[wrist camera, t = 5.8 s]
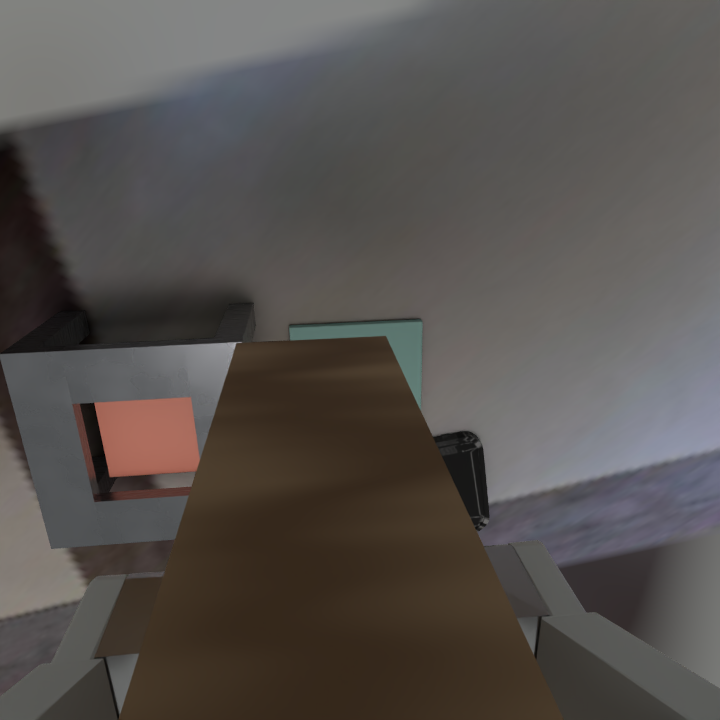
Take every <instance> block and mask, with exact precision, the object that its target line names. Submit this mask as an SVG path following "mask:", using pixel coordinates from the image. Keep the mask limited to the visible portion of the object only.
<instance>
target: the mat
mask: <svg viewBox="0 0 720 720" xmlns="http://www.w3.org/2000/svg"><path fill="white" fill-rule="evenodd" d="M289 332H290V340H310V339H331V338H352V337H373V336H386V337H387V339H388V341H389V344H390V346H391V348H392V350H393V352H394V354H395V356H396V359H397V361H398V363H399V365H400V367H401V369H402V372H403V374H404V376H405V378H406V380H407V382H408V385H409V387H410V389H411V391H412V393H413V395H414V397H415V400H416V402H417V404H418V406H419V408H420V410H421V373H422V320H421V319H413V320H393V321H372V322H351V323H331V324H310V325H290V326H289Z"/></svg>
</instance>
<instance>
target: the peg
mask: <svg viewBox="0 0 720 720" xmlns="http://www.w3.org/2000/svg"><path fill="white" fill-rule="evenodd" d="M119 720H564V719H563V717H562V715H561V712H560V710H559V708H558V706H557V704H556V702H555V700H554V697H553V695H552V693H551V691H550V689H549V687H548V684H547V682H546V680H545V678H544V676H543V674H542V672H541V669H540V667H539V665H538V663H537V661H536V659H535V656H534V654H533V652H532V650H531V648H530V646H529V643H528V641H527V639H526V637H525V635H524V633H523V631H522V628H521V626H520V624H519V622H518V620H517V618H516V615H515V613H514V611H513V609H512V607H511V605H510V602H509V600H508V598H507V596H506V594H505V592H504V590H503V587H502V585H501V583H500V581H499V579H498V577H497V574H496V572H495V570H494V568H493V566H492V564H491V561H490V559H489V557H488V555H487V553H486V551H485V549H484V546H483V544H482V542H481V540H480V538H479V536H478V533H477V531H476V529H475V527H474V525H473V523H472V520H471V518H470V516H469V514H468V512H467V510H466V508H465V505H464V503H463V501H462V499H461V497H460V495H459V492H458V490H457V488H456V486H455V484H454V482H453V479H452V477H451V475H450V473H449V471H448V469H447V467H446V464H445V462H444V460H443V458H442V456H441V454H440V451H439V449H438V447H437V445H436V443H435V441H434V438H433V436H432V434H431V432H430V430H429V428H428V426H427V423H426V421H425V419H424V417H423V415H422V413H421V410H420V408H419V406H418V404H417V402H416V400H415V397H414V395H413V393H412V391H411V389H410V387H409V385H408V382H407V380H406V378H405V376H404V374H403V372H402V369H401V367H400V365H399V363H398V361H397V359H396V356H395V354H394V352H393V350H392V348H391V346H390V344H389V341H388V339H387V337H386V336H373V337H352V338H331V339H310V340H289V341H268V342H247V343H236V347H235V350H234V353H233V356H232V359H231V363H230V366H229V369H228V372H227V375H226V378H225V382H224V385H223V388H222V391H221V394H220V398H219V401H218V404H217V407H216V410H215V414H214V417H213V420H212V423H211V426H210V429H209V433H208V436H207V439H206V442H205V445H204V449H203V452H202V455H201V458H200V461H199V465H198V468H197V471H196V474H195V477H194V480H193V484H192V487H191V490H190V493H189V496H188V500H187V503H186V506H185V509H184V512H183V516H182V519H181V522H180V525H179V528H178V531H177V535H176V538H175V541H174V544H173V547H172V551H171V554H170V557H169V560H168V563H167V567H166V570H165V573H164V576H163V579H162V582H161V586H160V589H159V592H158V595H157V598H156V602H155V605H154V608H153V611H152V614H151V618H150V621H149V624H148V627H147V630H146V633H145V637H144V640H143V643H142V646H141V649H140V653H139V656H138V659H137V662H136V665H135V669H134V672H133V675H132V678H131V681H130V684H129V688H128V691H127V694H126V697H125V700H124V704H123V707H122V710H121V713H120V716H119Z"/></svg>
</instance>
